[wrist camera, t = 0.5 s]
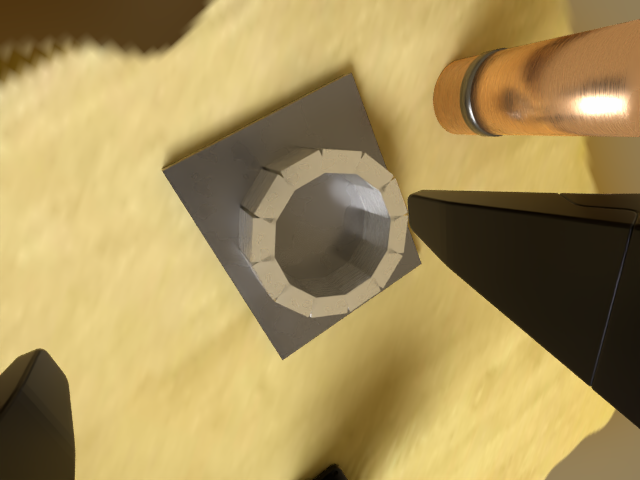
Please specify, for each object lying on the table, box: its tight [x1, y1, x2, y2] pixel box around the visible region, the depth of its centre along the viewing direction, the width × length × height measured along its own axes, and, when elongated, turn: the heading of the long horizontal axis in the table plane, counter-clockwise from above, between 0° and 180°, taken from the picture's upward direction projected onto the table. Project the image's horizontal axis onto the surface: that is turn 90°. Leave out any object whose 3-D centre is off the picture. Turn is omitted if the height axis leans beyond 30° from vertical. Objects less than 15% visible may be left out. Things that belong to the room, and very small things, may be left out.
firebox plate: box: [162, 73, 422, 360], centre depth 23 cm, size 14×12×4 cm
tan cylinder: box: [433, 19, 640, 137], centre depth 22 cm, size 5×5×12 cm
